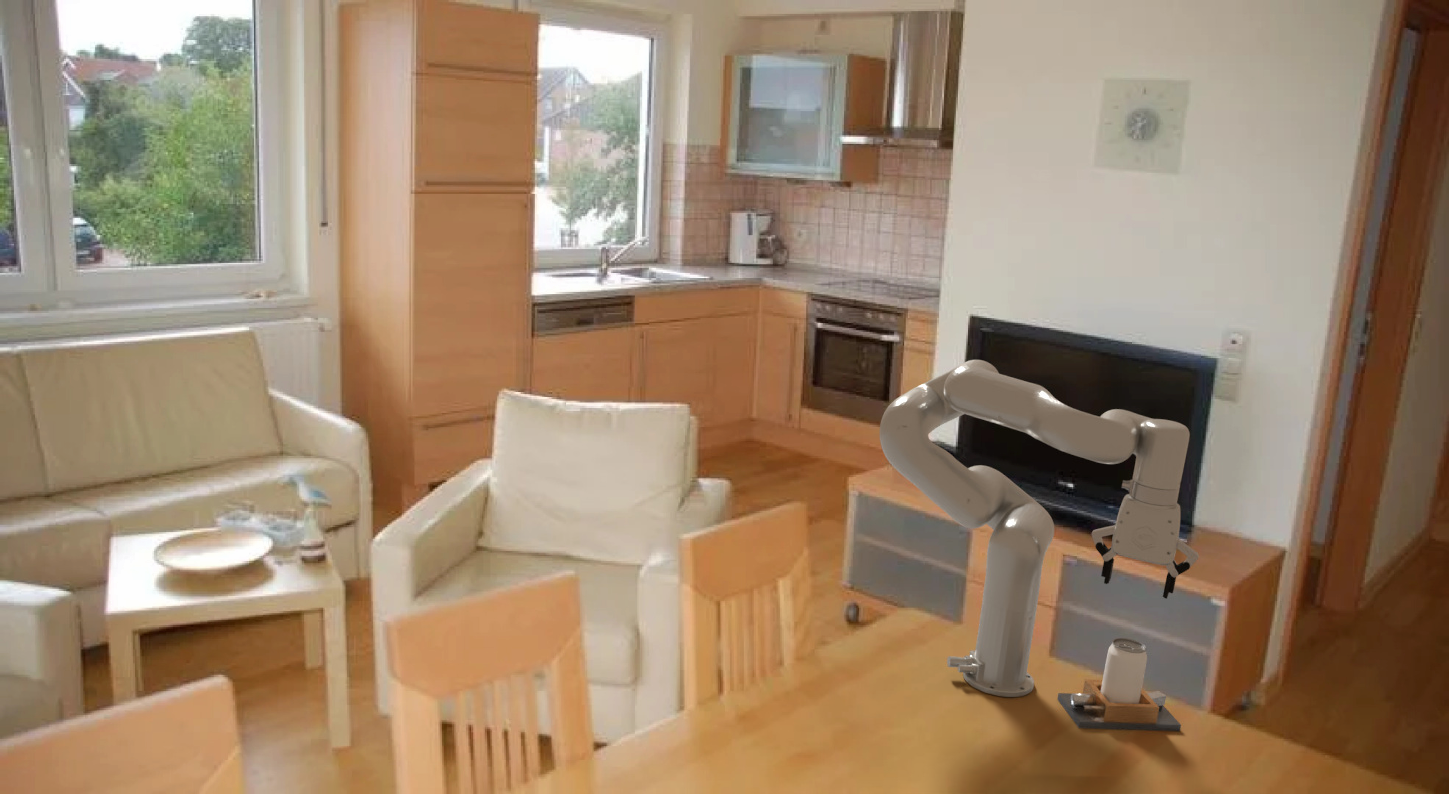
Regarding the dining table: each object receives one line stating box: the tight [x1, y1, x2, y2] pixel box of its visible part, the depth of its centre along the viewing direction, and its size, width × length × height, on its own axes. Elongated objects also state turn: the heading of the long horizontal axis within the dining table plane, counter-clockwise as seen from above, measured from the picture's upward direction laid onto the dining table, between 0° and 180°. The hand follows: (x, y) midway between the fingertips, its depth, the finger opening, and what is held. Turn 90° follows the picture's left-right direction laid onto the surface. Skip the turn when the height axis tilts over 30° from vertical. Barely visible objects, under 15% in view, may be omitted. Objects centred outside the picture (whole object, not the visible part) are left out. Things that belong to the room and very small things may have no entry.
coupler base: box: [1057, 678, 1182, 732], centre depth 203 cm, size 18×10×4 cm, turn 95°
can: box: [1101, 637, 1148, 704], centre depth 202 cm, size 6×6×12 cm
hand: (1136, 588), depth 199 cm, fingers open, 9 cm apart
